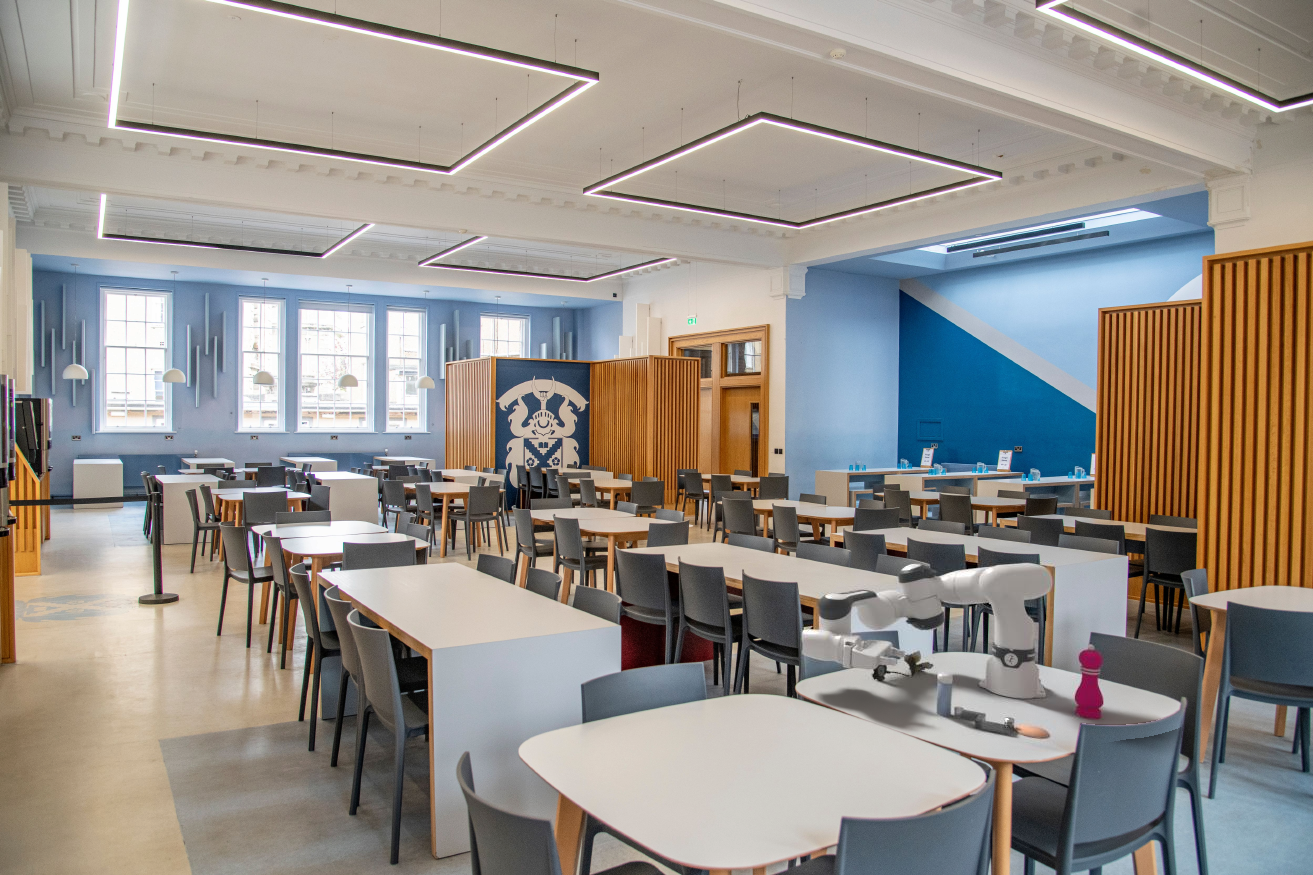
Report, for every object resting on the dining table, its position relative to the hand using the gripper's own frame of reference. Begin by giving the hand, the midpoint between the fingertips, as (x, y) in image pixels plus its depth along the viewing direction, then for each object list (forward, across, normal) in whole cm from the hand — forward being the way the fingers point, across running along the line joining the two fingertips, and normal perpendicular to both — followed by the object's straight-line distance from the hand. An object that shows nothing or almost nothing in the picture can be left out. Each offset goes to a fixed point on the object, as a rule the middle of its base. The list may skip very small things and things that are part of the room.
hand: (900, 658), depth 234 cm
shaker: (+12, 0, -14) cm, 18 cm away
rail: (+23, +3, -14) cm, 27 cm away
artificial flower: (-6, -29, -14) cm, 33 cm away
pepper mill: (+47, -23, -14) cm, 54 cm away
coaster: (+35, +1, -14) cm, 37 cm away
